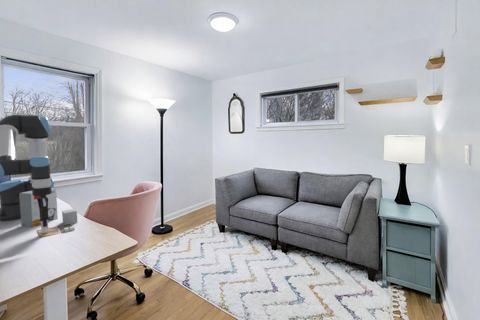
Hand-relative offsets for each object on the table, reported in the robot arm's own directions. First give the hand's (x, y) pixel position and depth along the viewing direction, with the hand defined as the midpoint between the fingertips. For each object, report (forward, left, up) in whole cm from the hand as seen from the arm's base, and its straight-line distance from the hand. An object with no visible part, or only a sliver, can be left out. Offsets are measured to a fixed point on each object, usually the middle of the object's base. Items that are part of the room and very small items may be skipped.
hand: (45, 232), depth 123 cm
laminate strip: (-1, +9, -2) cm, 9 cm away
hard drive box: (-24, +1, -2) cm, 24 cm away
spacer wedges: (+4, +10, -1) cm, 10 cm away
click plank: (-1, +2, -2) cm, 3 cm away
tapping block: (-11, +13, -2) cm, 17 cm away
